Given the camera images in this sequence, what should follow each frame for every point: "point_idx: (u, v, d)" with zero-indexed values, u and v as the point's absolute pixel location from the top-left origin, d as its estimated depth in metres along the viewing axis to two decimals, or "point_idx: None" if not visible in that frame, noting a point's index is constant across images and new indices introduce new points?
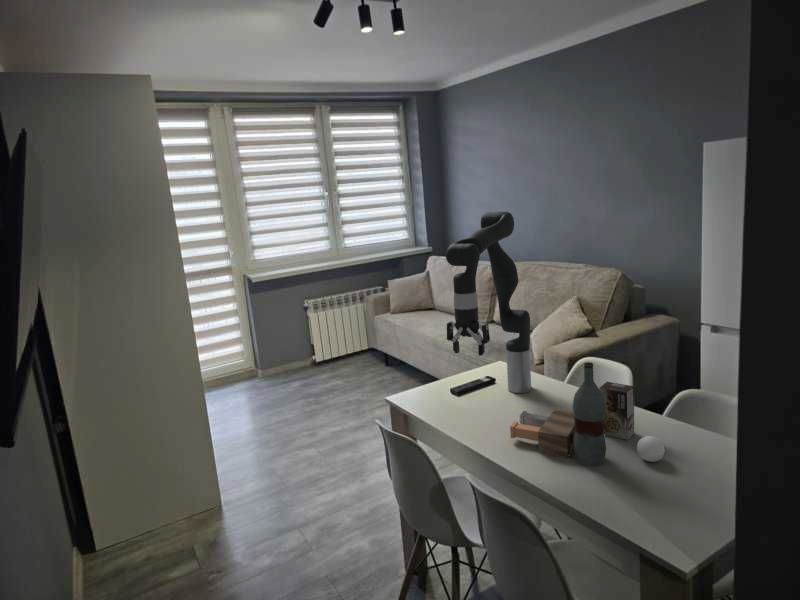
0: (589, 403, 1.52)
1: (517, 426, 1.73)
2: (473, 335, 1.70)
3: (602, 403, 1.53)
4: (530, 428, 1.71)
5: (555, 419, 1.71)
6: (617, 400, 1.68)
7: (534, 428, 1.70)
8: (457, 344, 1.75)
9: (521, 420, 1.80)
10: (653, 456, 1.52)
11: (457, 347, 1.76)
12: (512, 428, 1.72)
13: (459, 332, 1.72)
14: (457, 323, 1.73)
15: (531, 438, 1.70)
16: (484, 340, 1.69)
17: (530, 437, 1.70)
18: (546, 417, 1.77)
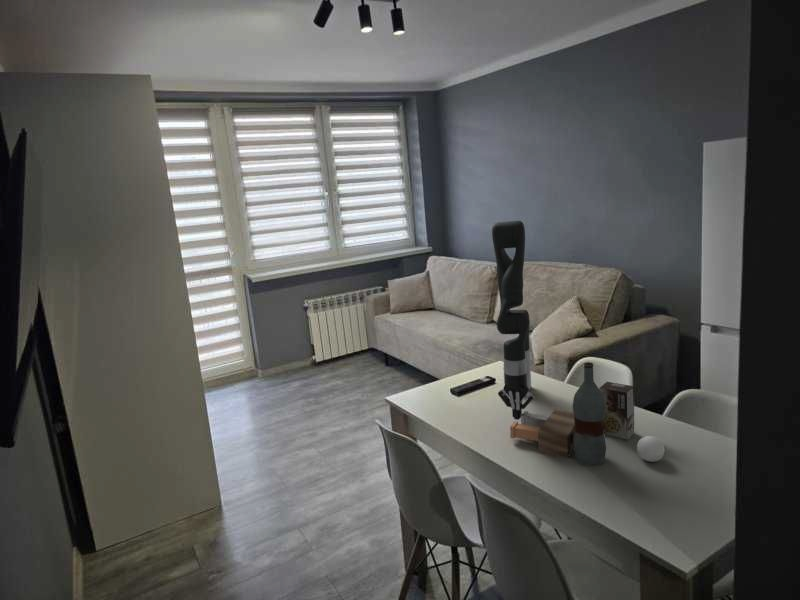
0: (589, 403, 1.52)
1: (517, 426, 1.73)
2: (518, 400, 1.79)
3: (602, 403, 1.53)
4: (530, 428, 1.71)
5: (555, 419, 1.71)
6: (617, 400, 1.68)
7: (534, 428, 1.70)
8: None
9: (522, 420, 1.80)
10: (653, 456, 1.52)
11: None
12: (512, 428, 1.72)
13: (511, 396, 1.80)
14: (504, 387, 1.81)
15: (531, 438, 1.70)
16: (522, 406, 1.79)
17: (530, 437, 1.70)
18: (547, 417, 1.77)
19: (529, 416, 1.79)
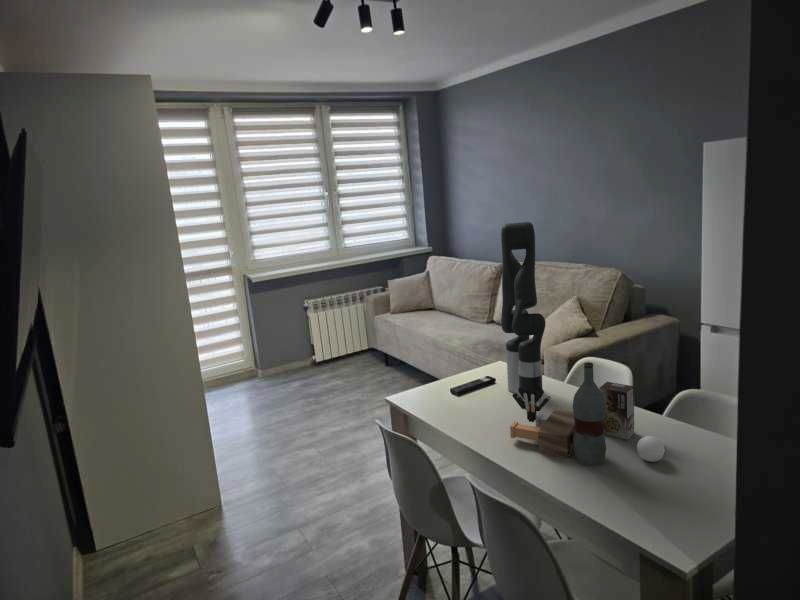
0: (589, 403, 1.52)
1: (517, 426, 1.73)
2: (533, 402, 1.76)
3: (602, 403, 1.53)
4: (530, 428, 1.71)
5: (555, 419, 1.71)
6: (617, 400, 1.68)
7: (534, 428, 1.70)
8: None
9: (537, 423, 1.77)
10: (653, 456, 1.52)
11: None
12: (512, 428, 1.72)
13: (526, 398, 1.77)
14: (519, 388, 1.78)
15: (531, 438, 1.70)
16: (537, 408, 1.76)
17: (530, 437, 1.70)
18: None
19: (544, 418, 1.76)
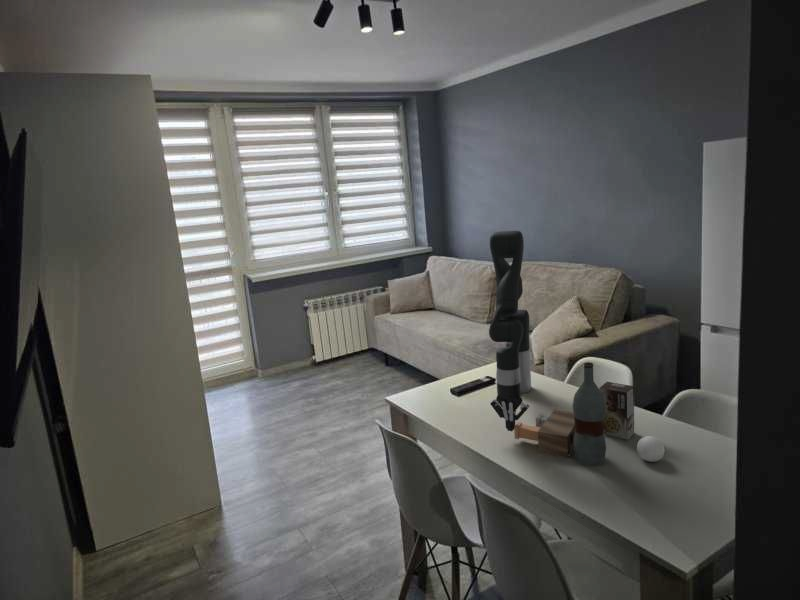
0: (589, 403, 1.52)
1: (521, 427, 1.72)
2: (511, 411, 1.71)
3: (602, 403, 1.53)
4: (534, 429, 1.70)
5: (555, 419, 1.71)
6: (617, 400, 1.68)
7: None
8: None
9: (537, 423, 1.77)
10: (653, 456, 1.52)
11: None
12: (516, 429, 1.71)
13: (504, 407, 1.72)
14: (497, 397, 1.73)
15: (535, 439, 1.69)
16: (515, 417, 1.71)
17: (534, 438, 1.69)
18: None
19: (544, 418, 1.76)
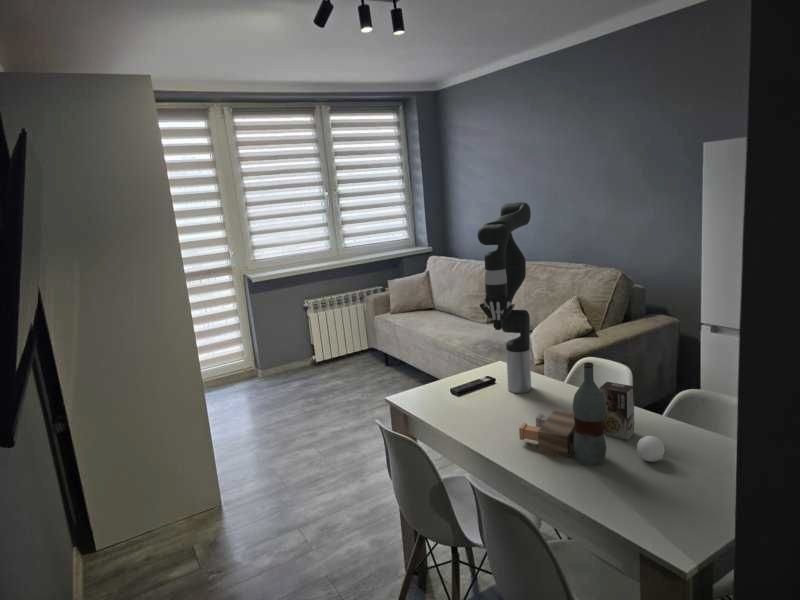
0: (589, 403, 1.52)
1: (526, 428, 1.71)
2: (498, 310, 1.86)
3: (602, 403, 1.53)
4: None
5: (555, 419, 1.71)
6: (617, 400, 1.68)
7: None
8: None
9: (537, 423, 1.77)
10: (653, 456, 1.52)
11: None
12: (521, 430, 1.70)
13: (492, 307, 1.87)
14: (486, 298, 1.88)
15: None
16: (502, 315, 1.86)
17: None
18: None
19: (544, 418, 1.76)
